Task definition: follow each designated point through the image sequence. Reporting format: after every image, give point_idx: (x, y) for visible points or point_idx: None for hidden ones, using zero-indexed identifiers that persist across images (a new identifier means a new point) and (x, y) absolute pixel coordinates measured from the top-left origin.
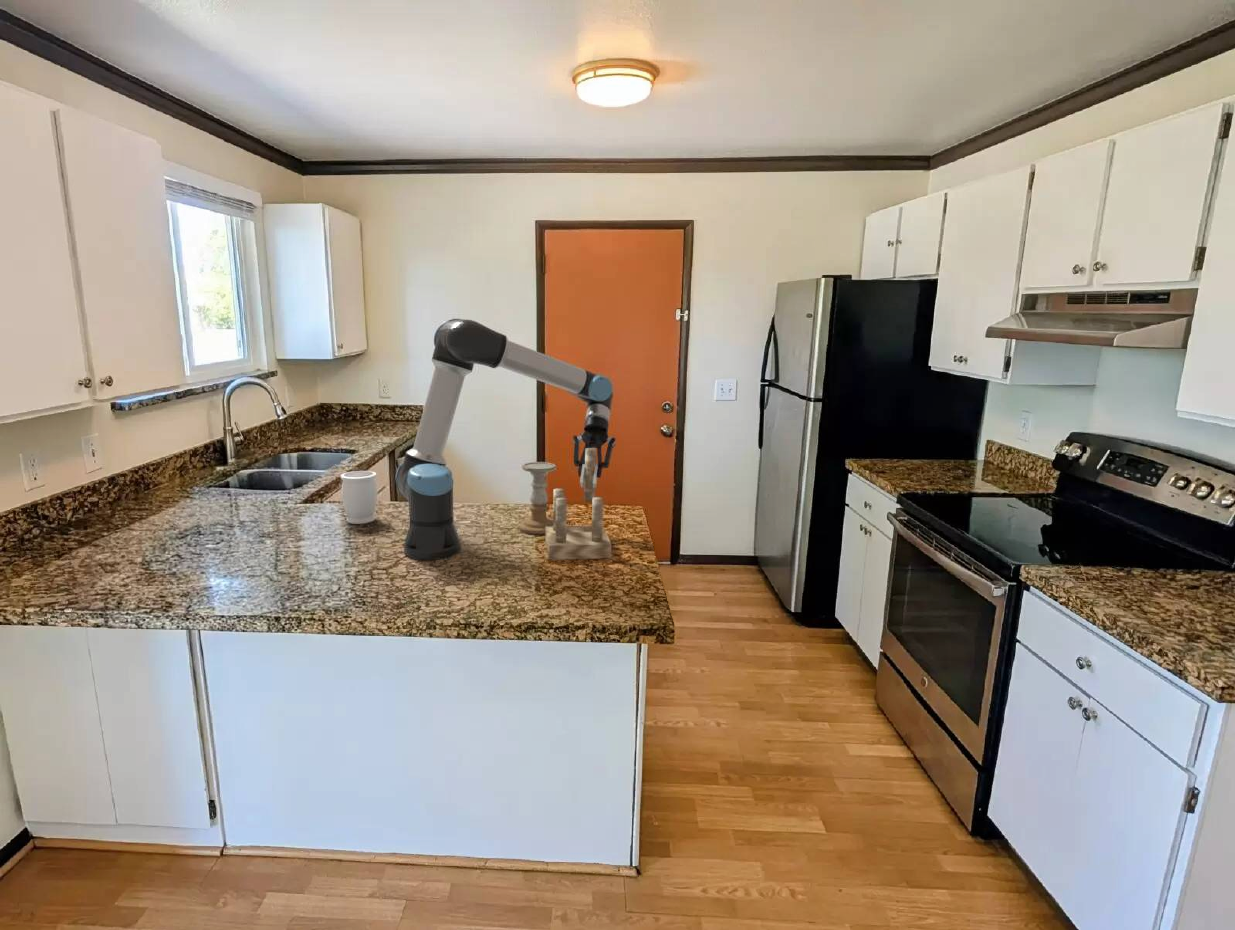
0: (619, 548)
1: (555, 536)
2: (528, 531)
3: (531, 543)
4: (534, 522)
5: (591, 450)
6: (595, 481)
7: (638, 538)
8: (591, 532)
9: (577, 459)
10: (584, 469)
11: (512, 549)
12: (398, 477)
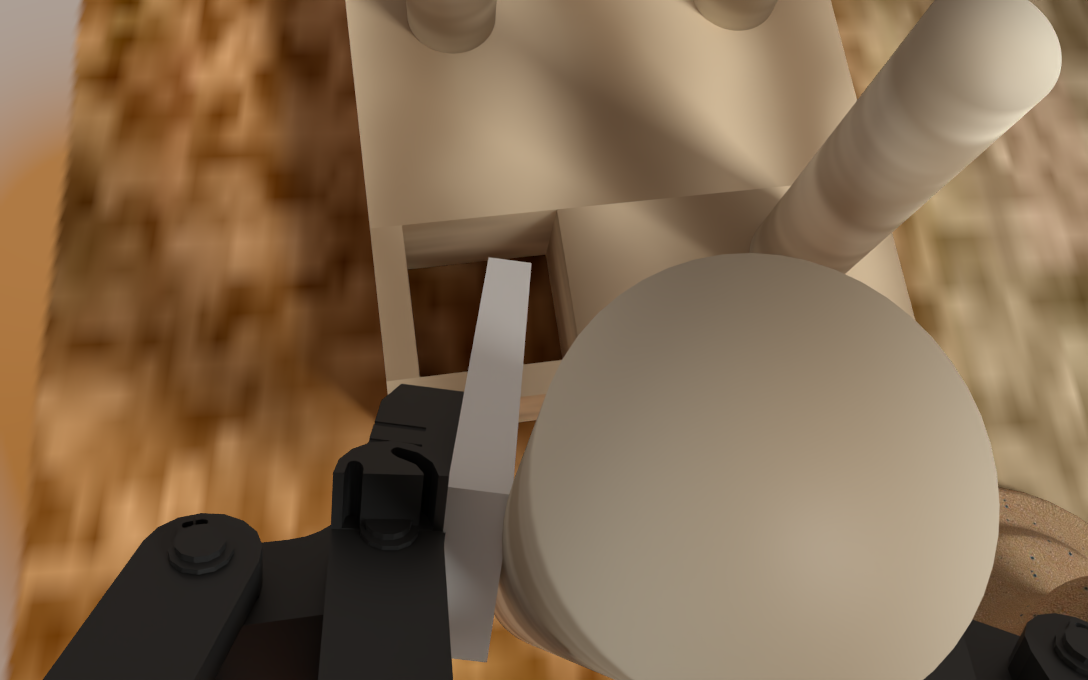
0: (267, 195)
1: (790, 93)
2: (1048, 501)
3: (954, 280)
4: (1053, 579)
5: (715, 256)
6: (486, 271)
7: (61, 450)
8: (498, 200)
9: (1047, 677)
10: None
11: (1052, 153)
12: None
